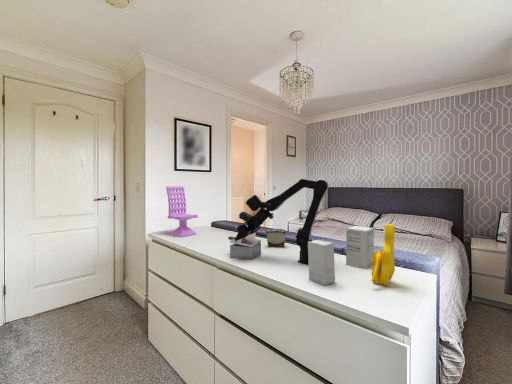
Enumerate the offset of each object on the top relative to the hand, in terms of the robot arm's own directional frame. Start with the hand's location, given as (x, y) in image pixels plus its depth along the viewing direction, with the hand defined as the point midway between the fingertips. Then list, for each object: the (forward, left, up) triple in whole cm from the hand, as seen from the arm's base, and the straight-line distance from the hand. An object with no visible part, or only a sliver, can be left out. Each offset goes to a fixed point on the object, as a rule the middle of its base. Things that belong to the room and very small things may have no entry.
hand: (239, 238), depth 131 cm
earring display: (+70, -3, -9) cm, 70 cm away
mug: (+17, -20, -9) cm, 27 cm away
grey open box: (-3, -2, -8) cm, 9 cm away
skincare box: (-48, -1, -9) cm, 49 cm away
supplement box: (-49, -31, -9) cm, 59 cm away
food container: (0, -28, -9) cm, 29 cm away
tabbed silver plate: (-2, -1, -1) cm, 2 cm away
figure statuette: (-65, -16, -9) cm, 67 cm away
